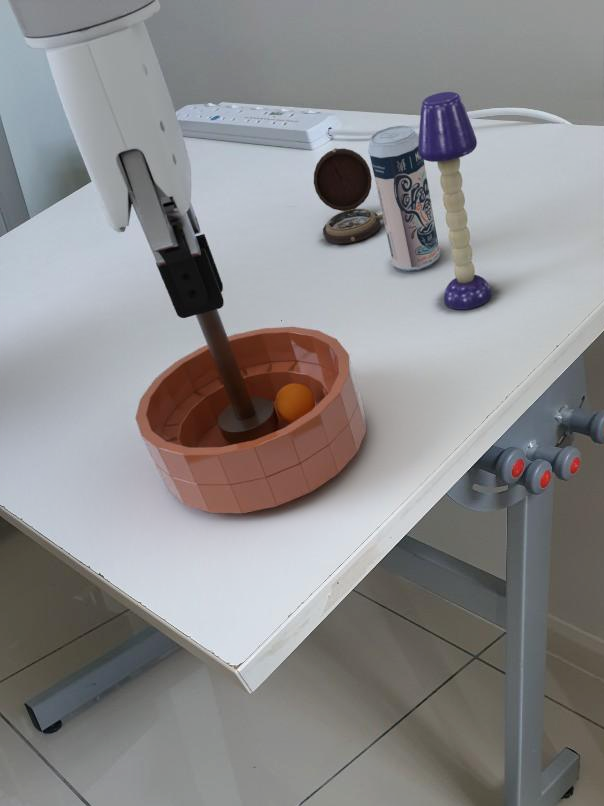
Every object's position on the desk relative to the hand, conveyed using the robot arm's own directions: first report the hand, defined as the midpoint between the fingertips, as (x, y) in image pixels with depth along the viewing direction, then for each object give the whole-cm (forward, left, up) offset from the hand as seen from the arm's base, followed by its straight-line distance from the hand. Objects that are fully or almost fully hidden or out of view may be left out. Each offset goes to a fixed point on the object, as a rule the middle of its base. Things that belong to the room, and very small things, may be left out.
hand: (201, 302), depth 59 cm
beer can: (+15, +24, -12) cm, 31 cm away
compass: (+10, +35, -12) cm, 39 cm away
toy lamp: (+19, +15, -12) cm, 27 cm away
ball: (+4, +1, -10) cm, 10 cm away
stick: (0, 0, -11) cm, 11 cm away
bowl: (+1, -2, -12) cm, 12 cm away
